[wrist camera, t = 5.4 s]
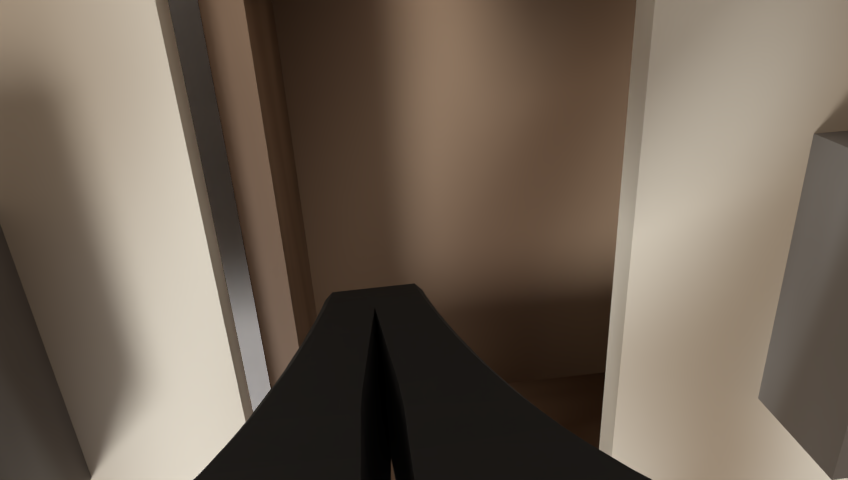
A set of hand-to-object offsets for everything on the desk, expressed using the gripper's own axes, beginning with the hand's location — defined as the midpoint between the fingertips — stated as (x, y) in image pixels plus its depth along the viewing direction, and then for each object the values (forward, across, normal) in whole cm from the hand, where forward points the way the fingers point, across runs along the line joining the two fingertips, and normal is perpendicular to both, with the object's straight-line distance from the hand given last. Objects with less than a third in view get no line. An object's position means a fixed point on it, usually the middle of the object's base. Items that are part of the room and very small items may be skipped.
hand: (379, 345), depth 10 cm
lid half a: (+1, +5, 0) cm, 5 cm away
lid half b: (+1, -7, 0) cm, 7 cm away
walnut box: (+5, -4, 0) cm, 7 cm away
